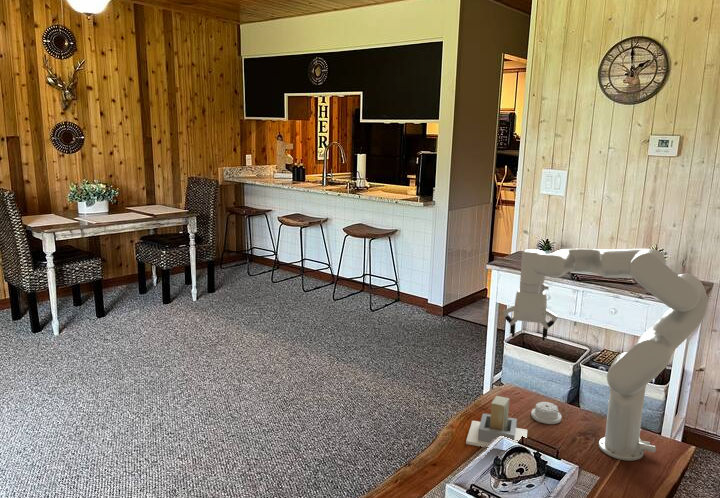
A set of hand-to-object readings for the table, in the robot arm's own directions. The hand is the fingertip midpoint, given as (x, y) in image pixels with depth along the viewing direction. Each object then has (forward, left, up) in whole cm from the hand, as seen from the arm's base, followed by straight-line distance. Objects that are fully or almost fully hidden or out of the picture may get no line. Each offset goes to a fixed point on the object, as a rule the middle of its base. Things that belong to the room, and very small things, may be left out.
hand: (528, 337), depth 185 cm
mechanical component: (-8, -6, -31) cm, 32 cm away
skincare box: (+7, +14, -30) cm, 33 cm away
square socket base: (+7, +14, -30) cm, 34 cm away
